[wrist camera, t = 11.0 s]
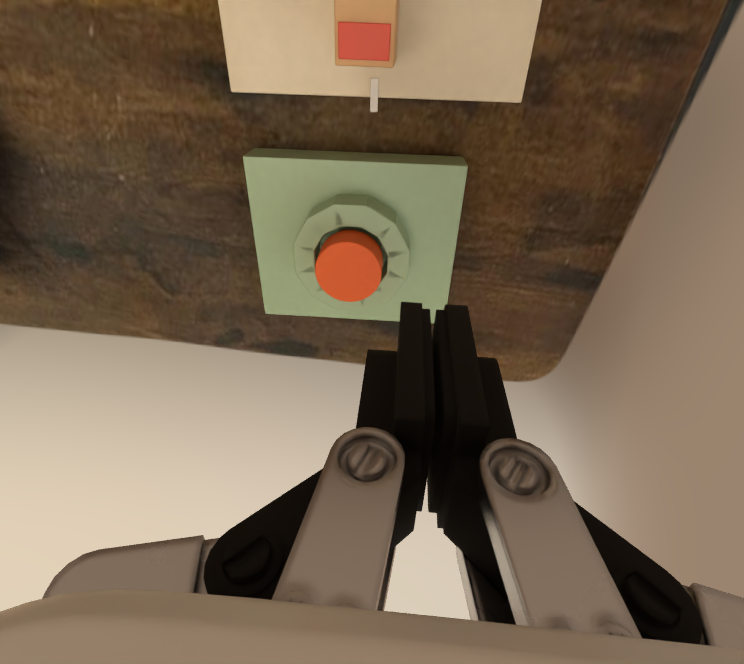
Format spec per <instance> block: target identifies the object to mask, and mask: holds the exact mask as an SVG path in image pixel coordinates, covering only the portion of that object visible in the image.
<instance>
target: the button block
mask: <svg viewBox="0 0 744 664" xmlns="http://www.w3.org/2000/svg"><path fill="white" fill-rule="evenodd" d="M243 162H244V169H245V176H246V183H247V190H248V197H249V204H250V211H251V217H252V224H253V231H254V238H255V245H256V252H257V259H258V266H259V273H260V280H261V287H262V294H263V301H264V308H265V313H266V314H281V315H298V316H316V317H333V318H351V319H368V320H386V321H400V308H401V302H415V303H422V309H430V315H431V323H434V321H435V314H436V310H444V306H445V304H447V301H448V295H449V288H450V282H451V275H452V268H453V262H454V255H455V249H456V242H457V235H458V229H459V222H460V216H461V209H462V203H463V196H464V189H465V183H466V176H467V170H468V166H467V164H466V162H465V160H464V158H463V157H461V156H437V155H413V154H389V153H366V152H342V151H318V150H294V149H270V148H254V149H253V150H251V151H250V152H248V153H247V154H246V155H244V156H243ZM342 230H357V231H360V232H363V233H365V234H367V235H369V236H370V237H371V238H373V239H374V240H375V241H376V243H377V244H378V245H379V247H380V249H381V252H382V256H383V266H382V276H381V281H380V284H379V286H378V288H377V289H376V290H375V292H374V293H373V294H372V295H370V296H369V297H367V298H365V299H363V300H360V301H355V302H345V301H340V300H337V299H335V298H333V297H331V296H330V295H328V294H327V293H326V292H325V291H324V290H323V289H322V288H321V287H320V285H319V283H318V281H317V279H316V275H315V264H316V260H317V258H318V255H319V253H320V250H321V248H322V246H323V244H324V242H325V241H326V240H327V239H328V238H329V237H330V236H331V235H333V234H334V233H336V232H339V231H342Z"/></svg>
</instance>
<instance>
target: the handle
mask: <svg viewBox="0 0 744 664" xmlns="http://www.w3.org/2000/svg"><path fill="white" fill-rule="evenodd" d="M399 5H400V0H334V21H335V65H337V66H360V67H382V68H393V66H394V64H395V62H396V58H397V40H398V22H399Z"/></svg>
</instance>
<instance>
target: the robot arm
mask: <svg viewBox="0 0 744 664" xmlns="http://www.w3.org/2000/svg"><path fill="white" fill-rule="evenodd" d="M426 481H427V484H428V510H429V512H433V513H437V525H438V528H443V530H444V534H445V535H446V536H447V537H448V538H449V539H450V540H451V541H452V542H453V543H454V544H455V545H456V555H457V561H458V565H459V570H460V574H461V578H462V583H463V588H464V591H465V596H466V601H467V605H468V610H469V614H470V619H471V620H465V619H455V618H446V617H436V616H427V615H417V614H407V613H397V612H387V611H384V608H385V603H386V598H387V592H388V587H389V581H390V577H391V571H392V566H393V561H394V555H395V549H396V545H397V544H398V543H400V542H401V541H402V540H403V539H404V538H405V537H406V536H408V535H409V534H410V533H411V532H412V531H413V529H414V524H415V517H416V511H422V506H423V500H424V493H425V487H426ZM0 664H744V598H742V597H738V596H735V595H732V594H729V593H726V592H722V591H719V590H716V589H713V588H710V587H706V586H703V585H700V584H697V583H693V584H691V585H690V586H689V587H687V586H684V585H681V584H680V582H678V581H677V580H676V579H675V578H674V577H673V576H672V575H671V574H669V573H668V572H667V571H666V570H665V569H664V568H662V567H661V566H660V565H658V564H657V563H655V562H654V561H653V560H652V559H650V558H649V557H647V556H646V555H645V554H643V553H642V552H641V551H640V550H638V549H637V548H636V547H634V546H633V545H631V544H630V543H629V542H628V541H626V540H625V539H624V538H622V537H621V536H619V535H618V534H617V533H616V532H614V531H613V530H612V529H610V528H609V527H608V526H606V525H605V524H603V523H602V522H601V521H600V520H598V519H597V518H595V517H594V516H593V515H592V514H590V513H589V512H588V511H586V510H585V509H584V508H582V507H581V506H579V505H578V504H577V503H576V502H574V501H573V499H572V497H571V495H570V493H569V491H568V489H567V487H566V485H565V483H564V481H563V479H562V477H561V475H560V473H559V471H558V469H557V467H556V465H555V464H554V463H553V461H552V460H551V458H550V457H549V456H548V455H547V454H546V453H544V452H543V451H542V450H541V449H540V448H538V447H536V446H534V445H533V444H531V443H528V442H525V441H522V440H519V439H517V437H516V433H515V429H514V425H513V421H512V417H511V413H510V409H509V405H508V401H507V397H506V393H505V389H504V385H503V381H502V377H501V373H500V369H499V365H498V362H497V360H496V359H495V358H485V357H477V353H476V348H475V343H474V338H473V332H472V327H471V322H470V317H469V311H468V307H467V306H463V305H447V304H445V306H444V310H436V314H435V321H434V329H433V337H432V334H431V315H430V309H422V303H415V302H401V308H400V322H399V336H398V350H397V351H384V350H369V349H368V352H367V358H366V365H365V372H364V379H363V385H362V392H361V399H360V405H359V412H358V418H357V425H356V429H353V430H350V431H348V432H346V433H344V434H343V435H342V436H340V437H339V438H338V439H337V440H336V441H335V443H334V445H333V446H332V448H331V450H330V452H329V455H328V458H327V460H326V463H325V465H324V468H323V469H322V470H320V471H318V472H317V473H315V474H314V475H312V476H311V477H309V478H308V479H306V480H305V481H303V482H302V483H300V484H299V485H297V486H295V487H294V488H292V489H291V490H289V491H288V492H286V493H285V494H283V495H282V496H281V497H279V498H277V499H275V500H274V501H272V502H271V503H269V504H268V505H266V506H265V507H263V508H262V509H260V510H259V511H257V512H256V513H254V514H253V515H251V516H249V517H248V518H247V519H245V520H243V521H242V522H240V523H239V524H237V525H236V526H234V527H233V528H231V529H230V530H228V531H227V532H226V533H225V534H224V535H223V536H221V537H220V538H216V539H209V540H205V539H204V537H203V535H201V536H194V537H187V538H180V539H172V540H166V541H159V542H151V543H144V544H136V545H129V546H122V547H115V548H108V549H100V550H96V551H93V552H90V553H86V554H83V555H82V556H80V557H78V558H77V559H75V560H74V561H72V562H70V563H68V564H67V565H66V566H65V567H64V568H63V569H62V570H61V571H60V572H59V573H58V574H57V575H56V576H55V577H54V579H53V580H52V582H51V583H50V585H49V587H48V588H47V590H46V592H45V594H44V596H43V598H42V599H41V600H36V601H32V602H28V603H25V604H22V605H19V606H16V607H13V608H10V609H7V610H4V611H1V612H0Z"/></svg>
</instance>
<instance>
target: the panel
mask: <svg viewBox="0 0 744 664" xmlns="http://www.w3.org/2000/svg"><path fill="white" fill-rule="evenodd" d="M541 4H542V0H400V5H399V22H398V40H397V58H396V62H395V64H394V66H393V68H382V67H360V66H337V65H335V21H334V0H218V5H219V11H220V18H221V25H222V32H223V39H224V46H225V52H226V59H227V66H228V73H229V80H230V86H231V91H232V92H243V93H270V94H297V95H324V96H351V97H370V112H377V111H378V98H405V99H432V100H460V101H487V102H514V103H520V102H521V101H522V96H523V92H524V87H525V82H526V77H527V72H528V67H529V62H530V57H531V52H532V48H533V43H534V38H535V33H536V28H537V23H538V18H539V13H540V8H541Z"/></svg>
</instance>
